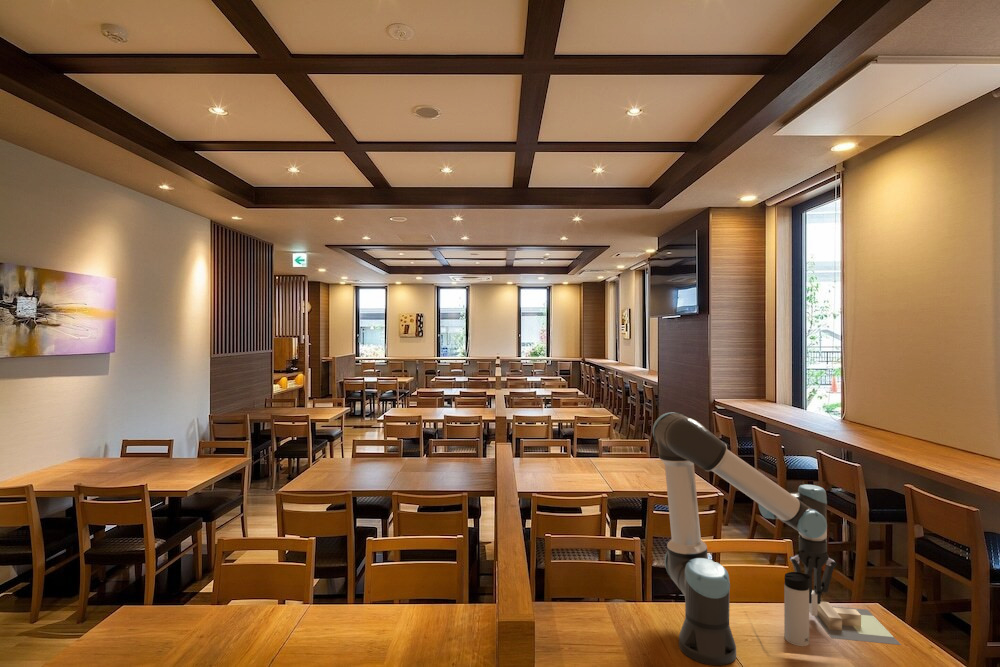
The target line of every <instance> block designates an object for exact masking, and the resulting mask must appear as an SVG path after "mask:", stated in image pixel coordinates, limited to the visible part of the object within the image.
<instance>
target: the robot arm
mask: <svg viewBox="0 0 1000 667" xmlns="http://www.w3.org/2000/svg"><path fill="white" fill-rule="evenodd" d="M652 436H653V439H654V441H655V442H656V444H657V449H658V452H657V453H658V459H659V460H660V461H661V462H662V463H664V471H665V482H666V493H667V502H668V503H667V504H668V514H669V515H668V516H669V523H670V525H669V526H670V535H671V539H670V540H669V541H668V542H667V544H666V546H667V547H666V548H667V551H666V552H665V555H664V567H665V569H666V572H667V575H668V576H669V578H670V579H671V580H672V582H673V583H674V584H675V586H677V588H678V589H679V590H680V591H681V593H682V594H683V595H684V599H685V600H684V601H685V602H684V606H685V608H684V610H685V611H684V612H685V613H684V614H685V615H684V617H685V618H684V620H683V624H682V626H681V629H680V632H679V635H678V636H679V637H678V647H679V649H680V651H681V652H682V653H683V654H684V655H685V656H687V657H688V658H690V659H691V660H694V661H696V662H699V663H701V664H705V665H710V666H726V665H729V664H732V663H733V662H734V661H735V660H736V658H737V646H736V641H735V639H734V636H733V633H732V630H731V627H730V626H731V625H730V589H731V583H730V575H729V573H728V570H727V569H726V568H725V567H724V565H722V564H720V562H717V561H716V562H715V561H714V560H712V559H709V556H708V546H707V544H706V543H705V541H703V540H702V539H701V538H702V537H701V528H700V517H699V516H700V515H699V514H700V513H699V505H698V494H697V484H696V472H695V465H696V466H697V467H699V468H701V469H702V470H704V471H705V472H713V473H714V474H715V475H718V476H719V477H720V478H721V479H723V480H724V481H725V482H727V483H729V485H731V486H733V487H734V488H736V489H737V490H738V491H740V492H741V493H742V494H745V496H747V497H749V498H750V499H751V500H753V501H754V502H756V504H757V505H758V509H759V512H760V514H761V515H762V517H763V518H765V519H771V520H776V519H777V520H780V521H781V522H782V523H785V524H786V525H787V526H789V527H791V528H793V529H794V530H795V531H797V532H798V534H799V535H798V551H796V552H797V553H796V554H795V555H794V556H789V561H790V562H791V563H792V566H793V569H794V572H800V573H802V569H801V566H800V561H801V562H802V564H803V567H804V574H808V575H809V576H810V579H809V614H810V615H811V616H814V617H815V616H817V604H820V603H821V602H822V597H821V596H822V595H823V593H825V594H826V593H828V591H829V587H830V583H831V580H832V576H833V572H834V569H835V568H836V567H837V566H838V563H837V562H836V561H835V560H834V559H833V558H830V557H829V554H828V541H827V538H828V537H827V536H828V534H827V533H828V523H827V522H828V521H827V520H828V518H827V516H828V512H827V511H828V499H827V497H828V496H827V492H826V489H824V487H821V486H819V485H814V484H800V485H799V486H798V488H797V492H789V491H788V490H786V489H785V488H783V487H781V486H780V485H779V484H778V483H776V482H775V481H773V480H771V479H770V478H769V477H767V476H766V475H765V474H763V472H761V471H760V470H757V469H756V468H755V467H753V466H752V465H750V464H749V463H748V462H746V461H745V460H743V459H742V458H740V457H739V456H738V455H736V454H735V453H733V452H732V451H731V450H729V449H728V445H727V444H726V443H725V442H724V441H723V440H721V439H720V438H718V437H717V436H716V435H715V434H714V433H712V432H711V431H710V430H709V429H707V428H706V426H704V424H702V423H700V422H699V420H698V421H697V420H696V419H693V418H690V417H688V416H686V415H684V413H680V412H672V411H671V412H666V413H662V415H660V416H659V417H658V418H657V419H656V420H655V421H654V423H653V426H652ZM825 564H826V565H825ZM824 565H825V567H824V572H823V576H822V571H823V569H822V567H823V566H824Z"/></svg>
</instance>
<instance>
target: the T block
mask: <svg viewBox="0 0 1000 667" xmlns="http://www.w3.org/2000/svg"><path fill="white" fill-rule="evenodd" d="M832 606H833V605H831V603H830V602H828V601H821V603H820V604H817V614H818V615H819V617H820V618H821V619H822V621H823V622H824V623H825V624H826V626H827V627H828V628H829V629H833V630H842V625H847V626H857V627H861V614H860V613H859V612H858V611H857V610H856V609H857V608H855V609H846V608H847V607H844V608H835V607H836V606H833V607H832Z"/></svg>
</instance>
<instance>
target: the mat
mask: <svg viewBox="0 0 1000 667" xmlns="http://www.w3.org/2000/svg"><path fill="white" fill-rule="evenodd" d="M831 606H832V607H835V608H846V609H856V610H857V611H858V612H859V613H860V614H861V627H857V626H847V625H842V630H833V629H829V628H828V627H827V626H826V624H825V623H824V622H823V621H822V619H821V618H820V617H819V615H818V614H817V616H814V617H815V618H816V619H817V621H818V623H819V624H820V625H821V626H822V628H823V629H824V630H825V631H826V633H827V634H828V636H829V637H830V638H831V639H835V640H836V639H837V640H849V641H856V642H857V641H859V642H869V643H878V644H885V645H886V644H887V645H897V646H898V645H899V646H901V645H902V644H901V643H900V642H899V640H897V639H896V638H895V637H894V636H893V634H891V632H890V631H889V630H888V629H887V628H886V627H885V626H884V625H883V624H882V623H881V622H880V621H879V620H878V618H876V617H875V616H874V615H873V614H872V612H870V610H869V609H867V608H866V609H865V608H856V607H855V608H853V607H843V606H841V607H840V606H833V605H831Z"/></svg>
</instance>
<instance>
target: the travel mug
mask: <svg viewBox="0 0 1000 667" xmlns="http://www.w3.org/2000/svg"><path fill="white" fill-rule="evenodd" d="M809 579H810V576H809V575H808V574H805V572H801V573H800V572H795V571H790V572H786V573H785V574H784V583H783V584H784V589H783V590H784V591H783V592H784V600H783V602H784V604H783V606H784V609H783V610H784V611H783V612H784V614H783V615H784V627H783V628H784V630H783V632H784V639H785V641H786V642H788V643H789V644H792V645H794V646H798V647H806V646H809V645H810V612H809Z"/></svg>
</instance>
